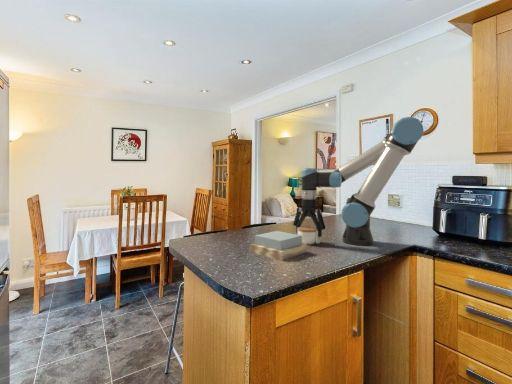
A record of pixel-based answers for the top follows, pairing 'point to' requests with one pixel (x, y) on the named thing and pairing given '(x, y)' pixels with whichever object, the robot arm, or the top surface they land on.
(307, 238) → the lidded jar
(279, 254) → the tower base
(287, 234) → the tower top
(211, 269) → the top surface
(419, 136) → the robot arm
